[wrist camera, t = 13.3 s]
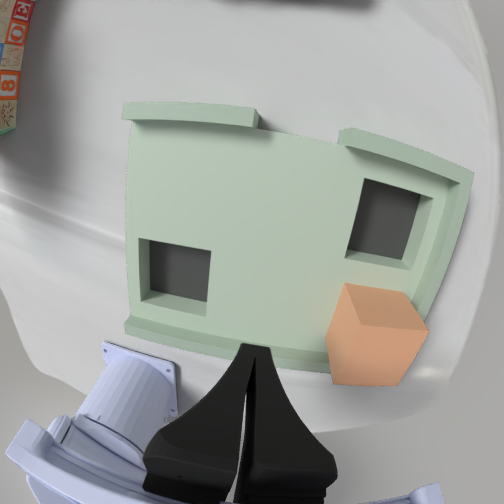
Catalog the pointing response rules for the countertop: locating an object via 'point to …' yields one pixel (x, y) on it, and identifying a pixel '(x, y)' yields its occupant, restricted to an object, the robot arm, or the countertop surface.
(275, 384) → the robot arm
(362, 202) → the board
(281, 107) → the countertop surface
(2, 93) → the stack of blocks
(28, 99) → the countertop surface
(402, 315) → the block
